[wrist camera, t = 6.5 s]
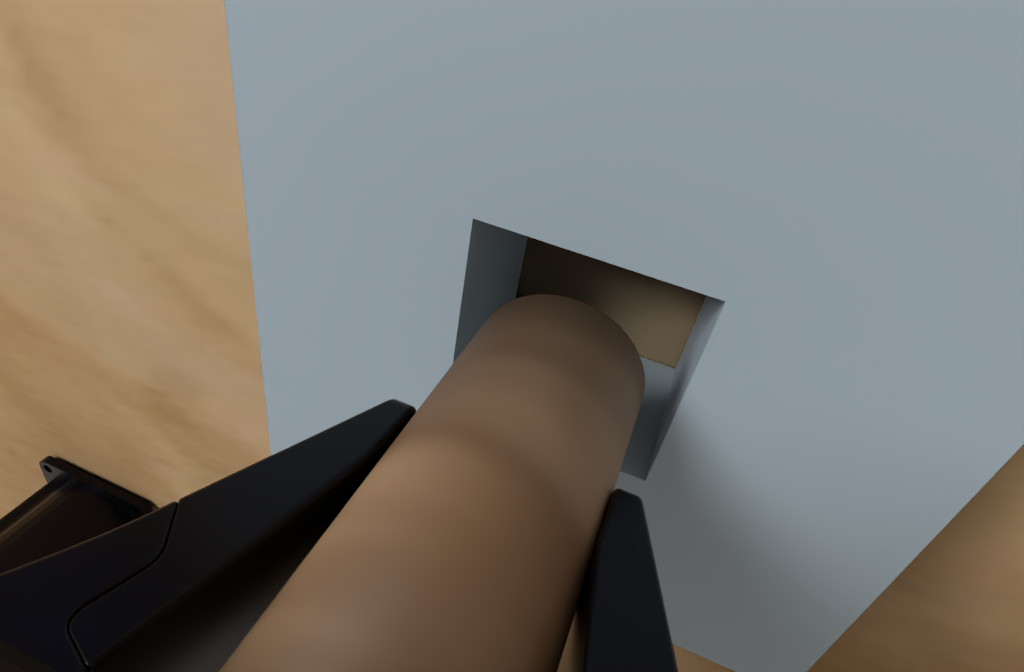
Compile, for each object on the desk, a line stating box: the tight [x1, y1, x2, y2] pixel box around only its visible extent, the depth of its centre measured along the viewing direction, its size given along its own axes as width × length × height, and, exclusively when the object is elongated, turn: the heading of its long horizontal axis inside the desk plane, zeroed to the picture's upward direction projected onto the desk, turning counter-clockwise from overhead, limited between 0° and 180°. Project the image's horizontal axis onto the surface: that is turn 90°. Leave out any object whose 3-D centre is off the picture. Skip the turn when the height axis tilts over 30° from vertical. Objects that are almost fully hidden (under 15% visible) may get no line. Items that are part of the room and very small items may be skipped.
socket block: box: [224, 0, 1024, 672], centre depth 13 cm, size 14×14×4 cm
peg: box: [218, 294, 645, 672], centre depth 8 cm, size 3×3×8 cm
